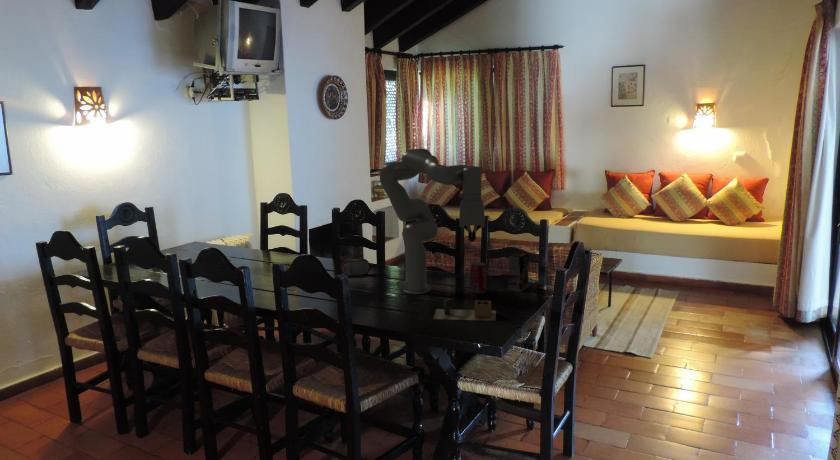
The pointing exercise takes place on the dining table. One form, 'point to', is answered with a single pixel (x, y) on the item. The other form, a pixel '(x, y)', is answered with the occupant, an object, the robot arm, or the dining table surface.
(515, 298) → the dining table surface
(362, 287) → the dining table surface
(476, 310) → the collar
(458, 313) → the board
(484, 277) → the soda can
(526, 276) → the coffee box
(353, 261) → the tin
